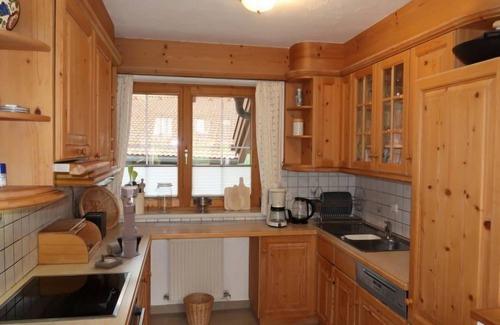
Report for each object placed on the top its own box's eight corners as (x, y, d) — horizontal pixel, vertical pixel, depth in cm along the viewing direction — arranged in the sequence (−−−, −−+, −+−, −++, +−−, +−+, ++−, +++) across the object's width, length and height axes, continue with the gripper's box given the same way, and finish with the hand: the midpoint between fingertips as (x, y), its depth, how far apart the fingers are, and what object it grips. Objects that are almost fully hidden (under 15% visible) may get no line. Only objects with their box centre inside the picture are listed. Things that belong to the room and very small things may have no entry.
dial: (112, 259, 221) (112, 251, 221) (118, 262, 215) (118, 254, 215) (99, 262, 216) (98, 253, 216) (103, 265, 210) (103, 256, 210)
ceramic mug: (105, 254, 237) (105, 242, 237) (118, 252, 243) (118, 240, 243) (113, 258, 230) (113, 245, 229) (125, 255, 236) (126, 243, 235)
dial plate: (106, 261, 222) (106, 256, 222) (122, 263, 218) (122, 258, 218) (94, 266, 212) (94, 261, 212) (110, 268, 209) (110, 263, 209)
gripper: (115, 227, 200) (115, 253, 198) (143, 226, 205) (143, 251, 203) (115, 227, 207) (115, 252, 205) (142, 225, 211) (143, 250, 210)
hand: (129, 252), depth 204 cm, fingers open, 7 cm apart
